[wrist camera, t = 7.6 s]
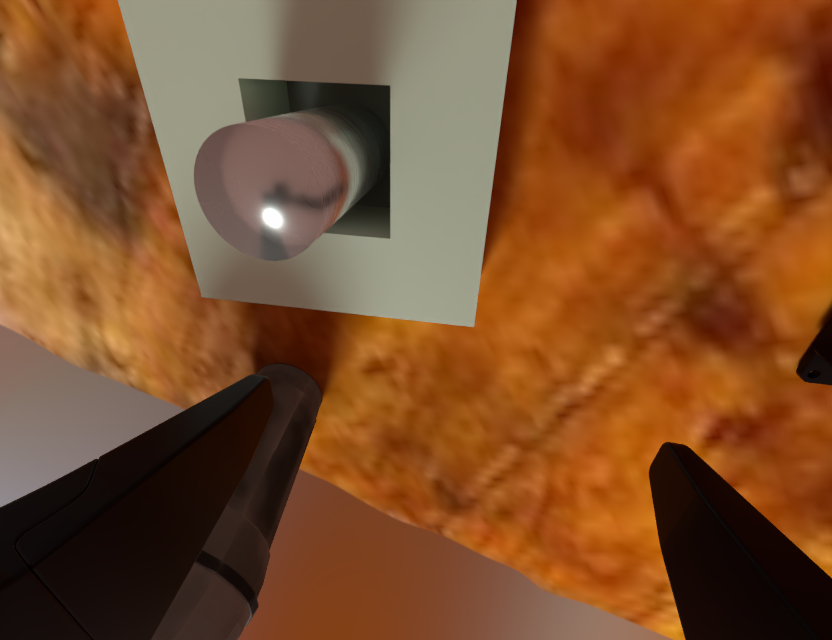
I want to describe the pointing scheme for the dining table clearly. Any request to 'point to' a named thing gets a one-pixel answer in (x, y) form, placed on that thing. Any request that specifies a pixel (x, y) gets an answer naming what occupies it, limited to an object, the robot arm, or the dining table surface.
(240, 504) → the beverage cup
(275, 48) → the socket block
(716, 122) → the dining table surface
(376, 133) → the peg
